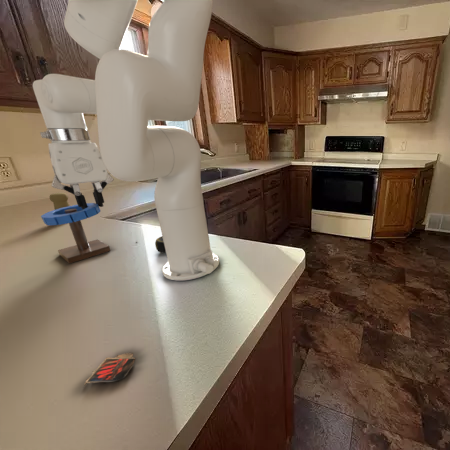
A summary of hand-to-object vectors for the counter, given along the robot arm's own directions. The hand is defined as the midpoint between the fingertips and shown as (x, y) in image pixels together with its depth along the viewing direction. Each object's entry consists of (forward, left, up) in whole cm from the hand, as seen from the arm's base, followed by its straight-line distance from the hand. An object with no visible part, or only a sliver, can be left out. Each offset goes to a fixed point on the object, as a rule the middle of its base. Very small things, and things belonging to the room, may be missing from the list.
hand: (92, 206), depth 68 cm
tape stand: (0, +5, -12) cm, 13 cm away
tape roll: (0, +4, -2) cm, 5 cm away
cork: (+45, -1, -12) cm, 47 cm away
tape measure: (-19, -10, -12) cm, 25 cm away
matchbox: (-50, +15, -12) cm, 54 cm away
